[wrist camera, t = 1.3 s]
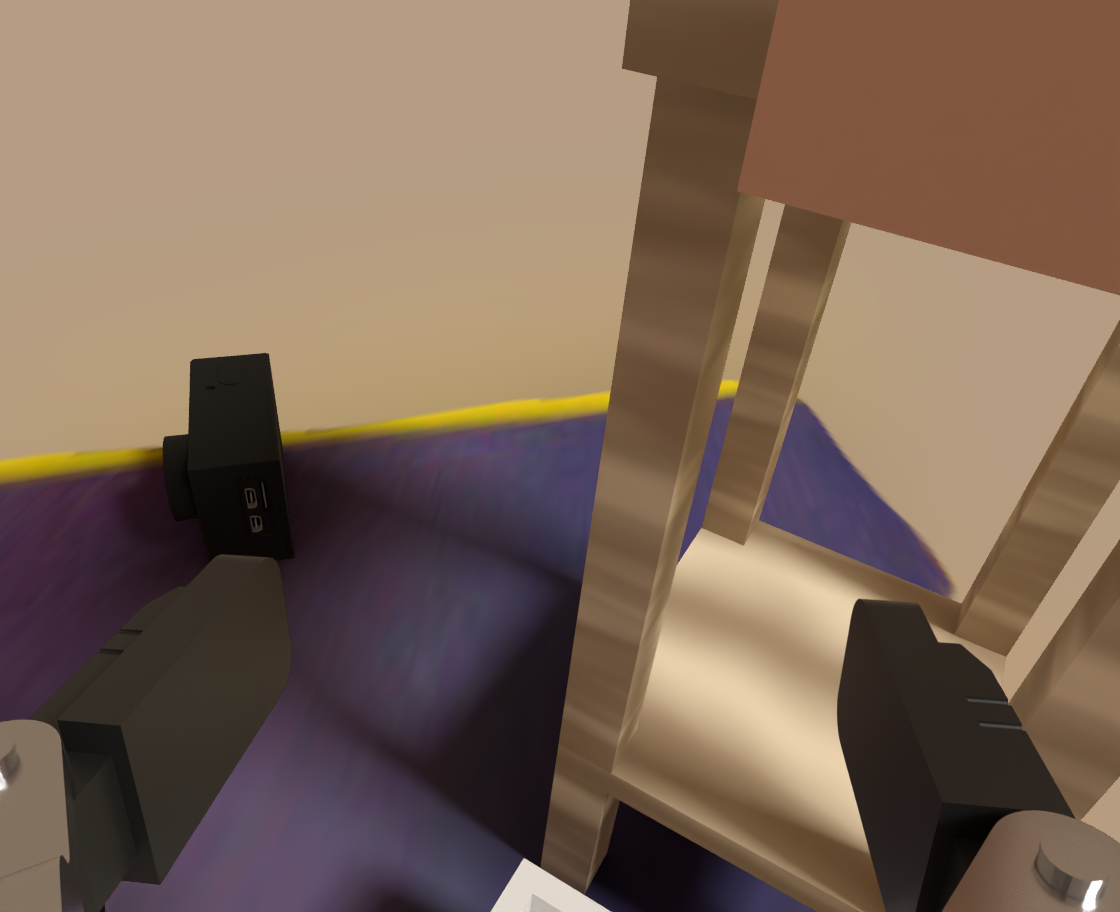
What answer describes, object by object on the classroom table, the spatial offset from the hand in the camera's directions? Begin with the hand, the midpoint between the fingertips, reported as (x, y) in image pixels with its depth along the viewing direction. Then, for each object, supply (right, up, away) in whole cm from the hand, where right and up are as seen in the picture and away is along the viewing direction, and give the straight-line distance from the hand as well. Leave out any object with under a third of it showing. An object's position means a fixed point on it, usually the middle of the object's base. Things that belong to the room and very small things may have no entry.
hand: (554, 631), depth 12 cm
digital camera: (-19, -1, +37) cm, 42 cm away
